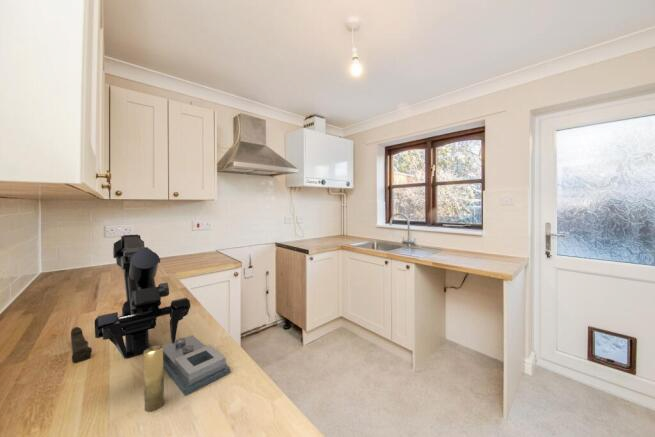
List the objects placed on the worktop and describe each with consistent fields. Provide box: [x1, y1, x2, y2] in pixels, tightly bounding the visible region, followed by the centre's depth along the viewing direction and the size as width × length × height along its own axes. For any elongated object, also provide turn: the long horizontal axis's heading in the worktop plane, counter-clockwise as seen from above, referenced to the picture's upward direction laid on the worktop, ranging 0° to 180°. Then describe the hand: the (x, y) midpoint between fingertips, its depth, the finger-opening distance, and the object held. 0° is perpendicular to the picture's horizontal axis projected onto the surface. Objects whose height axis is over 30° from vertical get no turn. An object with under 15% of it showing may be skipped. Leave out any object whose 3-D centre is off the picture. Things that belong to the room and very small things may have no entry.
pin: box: [142, 345, 165, 413], centre depth 55 cm, size 4×4×12 cm
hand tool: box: [70, 326, 93, 364], centre depth 78 cm, size 19×4×5 cm, turn 47°
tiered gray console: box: [161, 335, 231, 397], centre depth 70 cm, size 22×11×4 cm, turn 49°
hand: (150, 350), depth 58 cm, fingers open, 9 cm apart
